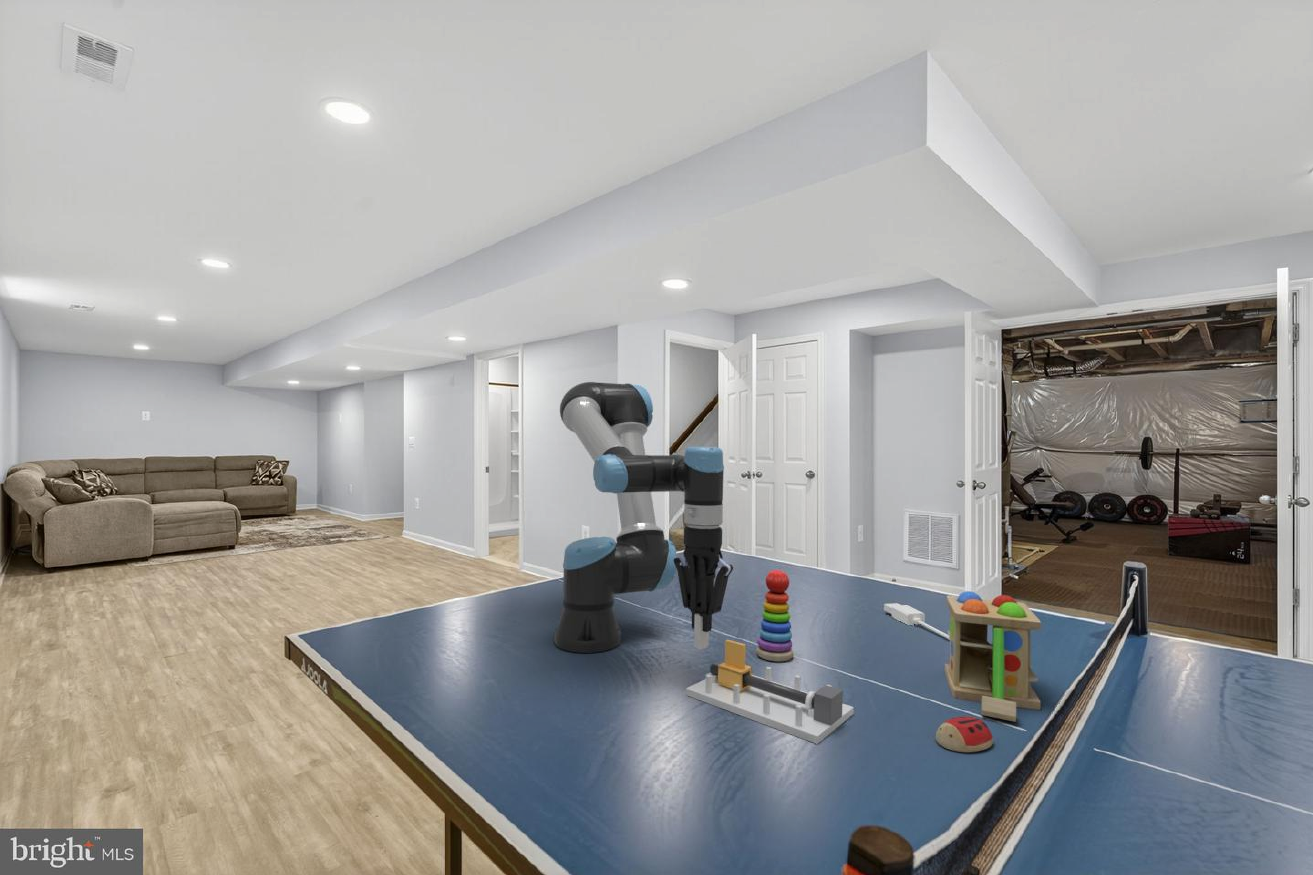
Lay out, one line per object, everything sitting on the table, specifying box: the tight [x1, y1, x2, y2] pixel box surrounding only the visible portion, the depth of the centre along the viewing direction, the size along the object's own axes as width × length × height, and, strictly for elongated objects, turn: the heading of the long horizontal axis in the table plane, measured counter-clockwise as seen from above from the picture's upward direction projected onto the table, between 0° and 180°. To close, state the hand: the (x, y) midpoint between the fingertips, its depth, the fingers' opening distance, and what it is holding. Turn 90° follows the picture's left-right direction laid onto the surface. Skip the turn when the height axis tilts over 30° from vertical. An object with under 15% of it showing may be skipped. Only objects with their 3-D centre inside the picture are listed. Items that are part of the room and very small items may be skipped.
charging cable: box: [883, 602, 950, 641], centre depth 151 cm, size 5×32×3 cm, turn 13°
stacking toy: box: [755, 569, 795, 662], centre depth 132 cm, size 8×8×19 cm
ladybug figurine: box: [935, 716, 994, 753], centre depth 96 cm, size 7×10×4 cm
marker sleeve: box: [717, 639, 753, 692], centre depth 113 cm, size 5×4×8 cm
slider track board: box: [685, 663, 855, 745], centre depth 108 cm, size 26×14×6 cm, turn 49°
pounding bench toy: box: [944, 590, 1042, 723], centre depth 113 cm, size 23×14×18 cm, turn 160°
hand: (701, 646), depth 118 cm, fingers closed
